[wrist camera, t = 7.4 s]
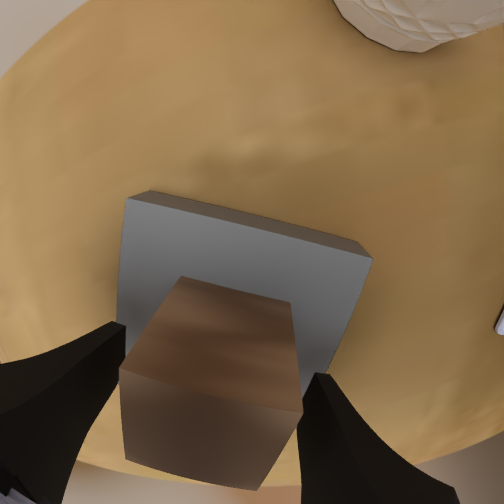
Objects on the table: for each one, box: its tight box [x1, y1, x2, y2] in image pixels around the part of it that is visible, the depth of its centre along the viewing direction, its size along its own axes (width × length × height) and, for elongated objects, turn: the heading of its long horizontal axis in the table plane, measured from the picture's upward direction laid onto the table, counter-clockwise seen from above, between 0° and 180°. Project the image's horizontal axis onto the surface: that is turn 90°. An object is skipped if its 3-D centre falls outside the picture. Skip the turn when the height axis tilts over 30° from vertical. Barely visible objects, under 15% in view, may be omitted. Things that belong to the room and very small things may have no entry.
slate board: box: [117, 191, 373, 428], centre depth 14 cm, size 10×10×2 cm
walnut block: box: [119, 276, 303, 491], centre depth 10 cm, size 4×4×6 cm
